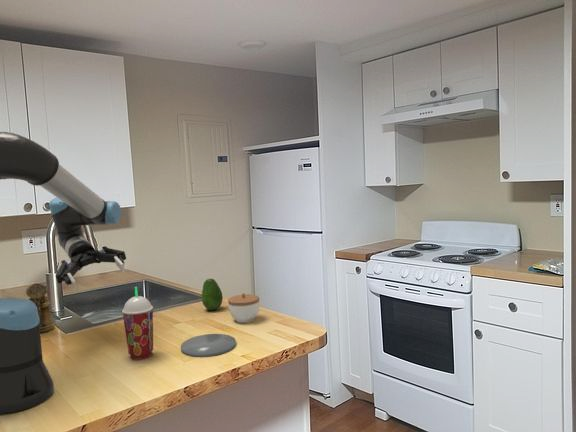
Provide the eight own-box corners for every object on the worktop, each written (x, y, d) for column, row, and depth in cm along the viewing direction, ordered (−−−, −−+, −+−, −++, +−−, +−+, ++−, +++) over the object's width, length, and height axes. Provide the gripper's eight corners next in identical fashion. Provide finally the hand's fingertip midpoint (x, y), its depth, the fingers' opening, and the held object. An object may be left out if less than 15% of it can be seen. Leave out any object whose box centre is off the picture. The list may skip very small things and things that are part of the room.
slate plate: (236, 353, 132) (236, 350, 132) (178, 359, 129) (178, 356, 129) (234, 334, 148) (234, 331, 147) (183, 339, 145) (182, 336, 145)
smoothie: (161, 350, 137) (156, 283, 135) (145, 362, 129) (140, 291, 127) (136, 349, 139) (131, 283, 137) (119, 360, 131) (113, 290, 129)
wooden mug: (25, 340, 152) (19, 285, 150) (26, 328, 164) (21, 278, 162) (55, 334, 156) (50, 281, 154) (54, 323, 168) (49, 274, 166)
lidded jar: (230, 326, 156) (228, 299, 155) (228, 317, 166) (226, 291, 165) (262, 323, 158) (260, 296, 157) (258, 314, 168) (256, 288, 167)
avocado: (198, 309, 177) (196, 278, 176) (217, 305, 182) (215, 275, 180) (208, 314, 171) (206, 282, 169) (227, 309, 175) (225, 278, 174)
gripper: (121, 248, 158) (144, 271, 142) (42, 276, 145) (57, 305, 129) (116, 228, 155) (138, 250, 139) (35, 254, 142) (50, 282, 126)
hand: (100, 276), depth 134 cm, fingers open, 13 cm apart
